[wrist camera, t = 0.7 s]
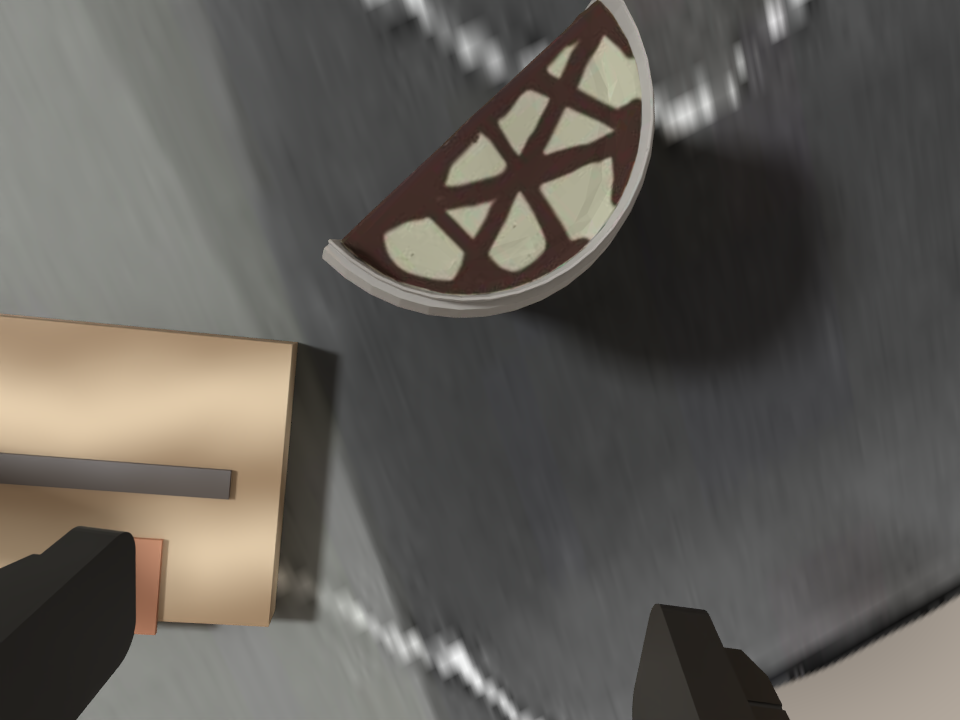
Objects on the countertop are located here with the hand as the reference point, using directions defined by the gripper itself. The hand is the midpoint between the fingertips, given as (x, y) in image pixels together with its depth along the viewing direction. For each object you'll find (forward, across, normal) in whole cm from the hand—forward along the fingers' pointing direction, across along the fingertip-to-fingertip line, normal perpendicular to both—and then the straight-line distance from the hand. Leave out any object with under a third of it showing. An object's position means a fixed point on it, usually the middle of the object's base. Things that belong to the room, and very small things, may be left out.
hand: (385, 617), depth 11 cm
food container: (+22, -1, -4) cm, 23 cm away
